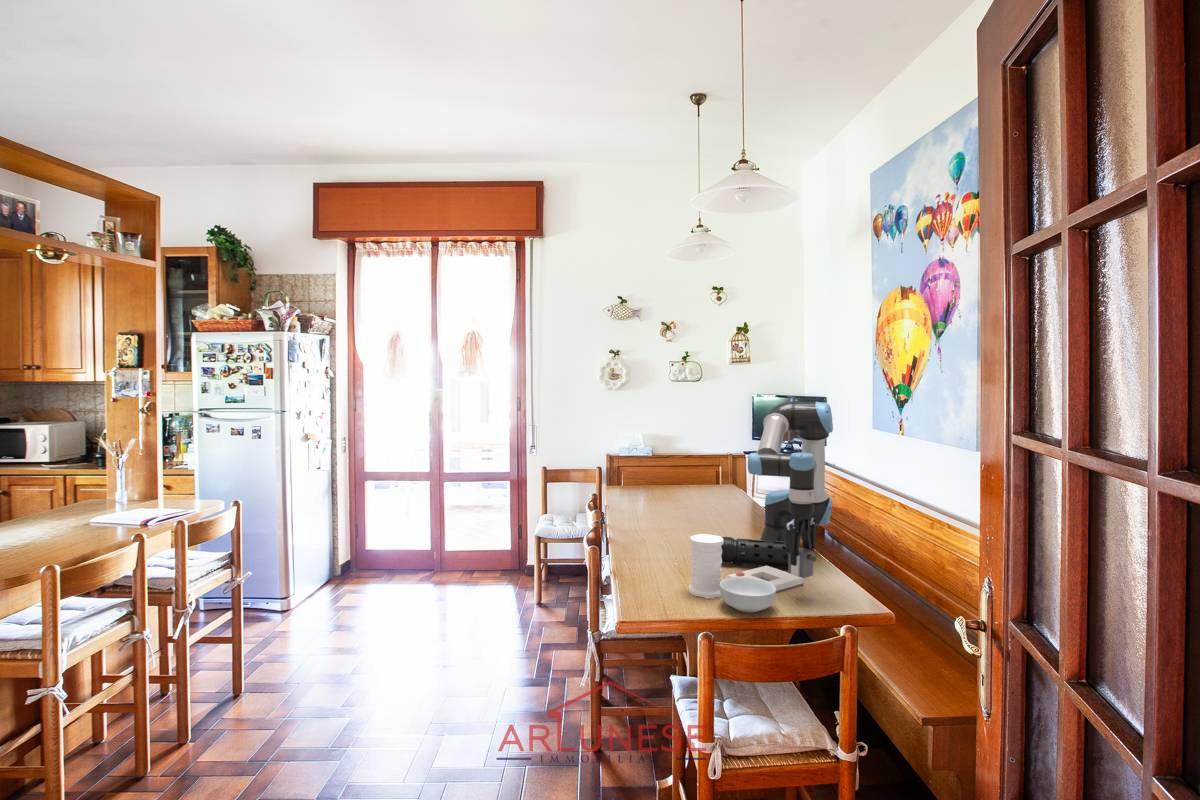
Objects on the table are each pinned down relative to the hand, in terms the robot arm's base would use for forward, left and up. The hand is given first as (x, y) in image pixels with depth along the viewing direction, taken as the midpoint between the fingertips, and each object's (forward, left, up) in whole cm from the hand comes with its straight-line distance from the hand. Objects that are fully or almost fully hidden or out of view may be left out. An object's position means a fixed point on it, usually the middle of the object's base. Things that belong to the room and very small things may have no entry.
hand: (800, 573), depth 194 cm
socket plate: (-2, -16, -8) cm, 18 cm away
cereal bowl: (+20, -4, -8) cm, 22 cm away
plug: (0, +1, 0) cm, 1 cm away
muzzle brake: (-14, -32, -9) cm, 36 cm away
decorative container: (+21, -21, -8) cm, 31 cm away
